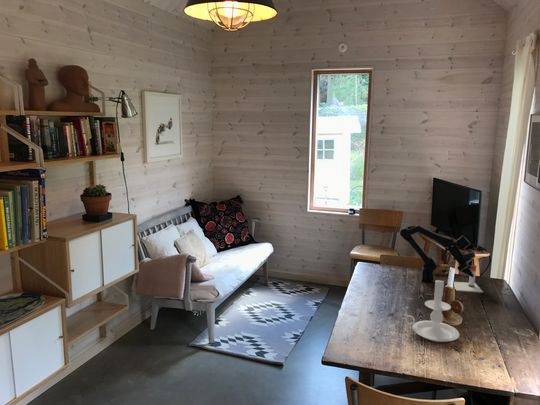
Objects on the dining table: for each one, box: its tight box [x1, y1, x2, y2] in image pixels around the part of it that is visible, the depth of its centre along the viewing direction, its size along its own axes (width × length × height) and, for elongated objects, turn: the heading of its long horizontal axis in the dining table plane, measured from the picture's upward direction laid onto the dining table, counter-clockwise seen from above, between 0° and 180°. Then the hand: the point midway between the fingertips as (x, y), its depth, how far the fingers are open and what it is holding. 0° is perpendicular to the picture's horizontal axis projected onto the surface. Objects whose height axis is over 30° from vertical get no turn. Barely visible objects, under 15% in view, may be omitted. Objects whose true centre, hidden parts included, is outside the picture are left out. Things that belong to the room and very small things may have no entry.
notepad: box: [453, 281, 485, 294], centre depth 266 cm, size 17×15×1 cm
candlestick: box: [403, 279, 460, 343], centre depth 202 cm, size 21×25×28 cm
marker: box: [468, 264, 477, 287], centre depth 265 cm, size 4×4×13 cm
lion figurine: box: [434, 259, 451, 275], centre depth 289 cm, size 15×5×9 cm, turn 72°
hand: (474, 274), depth 265 cm, fingers open, 9 cm apart
